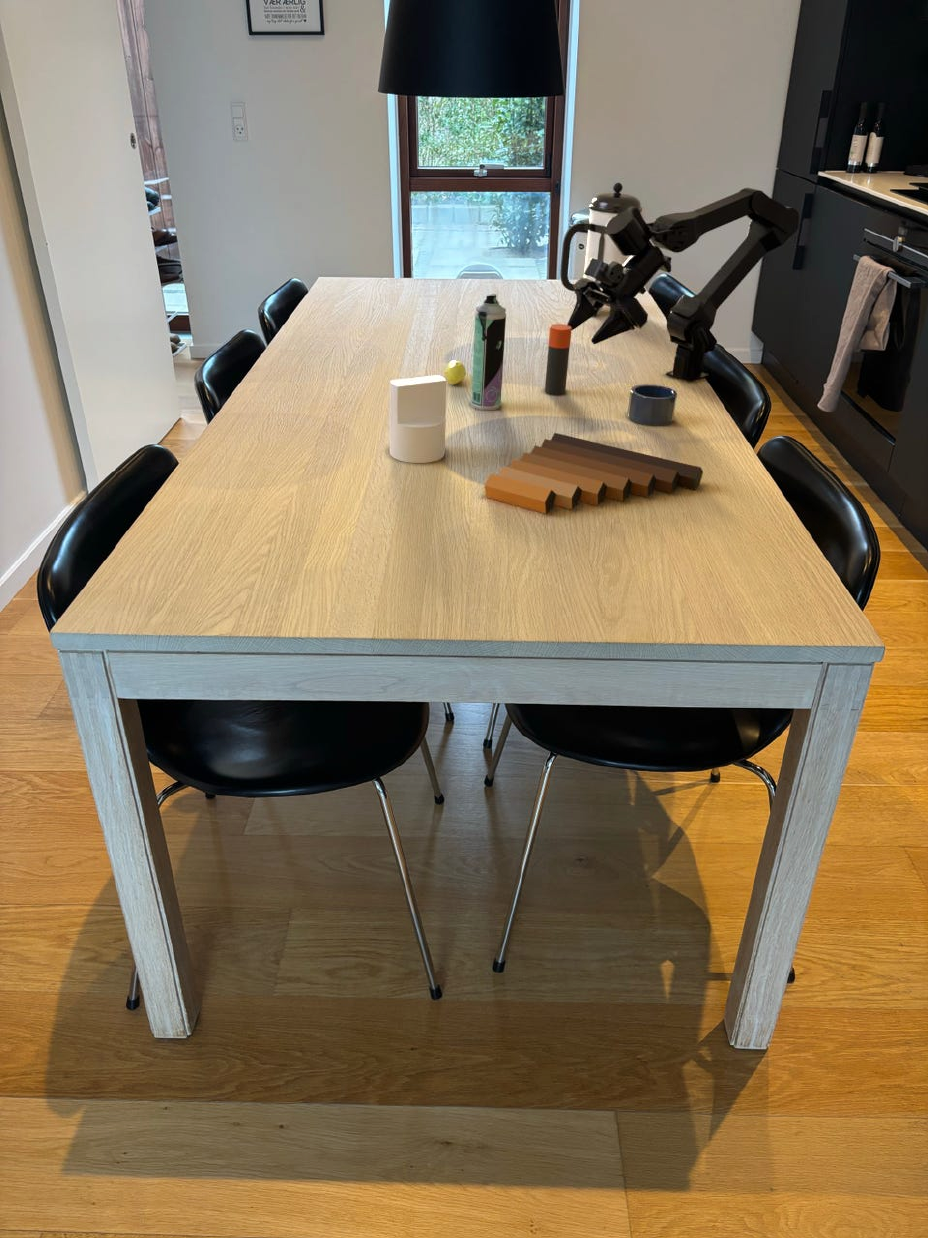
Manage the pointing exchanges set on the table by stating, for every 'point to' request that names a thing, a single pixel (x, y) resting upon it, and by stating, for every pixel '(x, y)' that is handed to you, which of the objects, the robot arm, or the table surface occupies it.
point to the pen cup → (652, 405)
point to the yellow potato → (455, 372)
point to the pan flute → (585, 475)
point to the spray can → (488, 354)
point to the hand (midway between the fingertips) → (579, 336)
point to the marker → (557, 359)
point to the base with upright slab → (418, 419)
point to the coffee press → (598, 233)
